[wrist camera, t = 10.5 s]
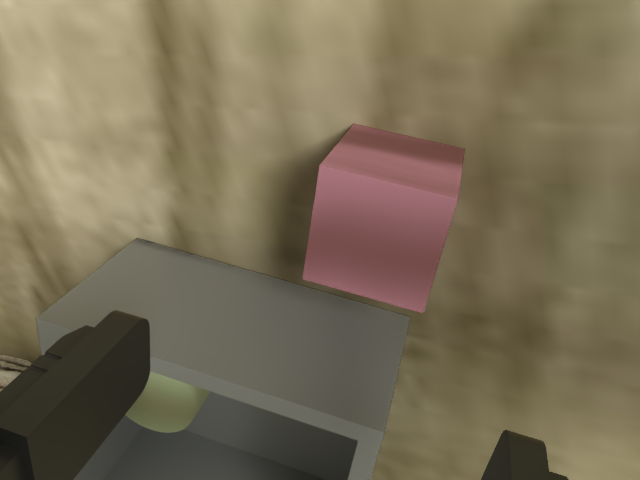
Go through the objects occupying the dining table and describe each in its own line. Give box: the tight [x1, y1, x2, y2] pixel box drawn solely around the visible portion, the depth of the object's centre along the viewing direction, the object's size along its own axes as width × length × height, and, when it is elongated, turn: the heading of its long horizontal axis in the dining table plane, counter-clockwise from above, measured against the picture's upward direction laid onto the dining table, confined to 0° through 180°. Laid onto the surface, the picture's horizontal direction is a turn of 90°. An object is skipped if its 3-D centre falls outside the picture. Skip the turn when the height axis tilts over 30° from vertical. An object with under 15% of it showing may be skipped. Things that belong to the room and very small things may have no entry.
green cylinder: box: [125, 371, 211, 433], centre depth 26 cm, size 4×4×5 cm
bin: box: [36, 238, 410, 480], centre depth 26 cm, size 13×14×7 cm
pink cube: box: [302, 124, 465, 313], centre depth 20 cm, size 4×4×5 cm
